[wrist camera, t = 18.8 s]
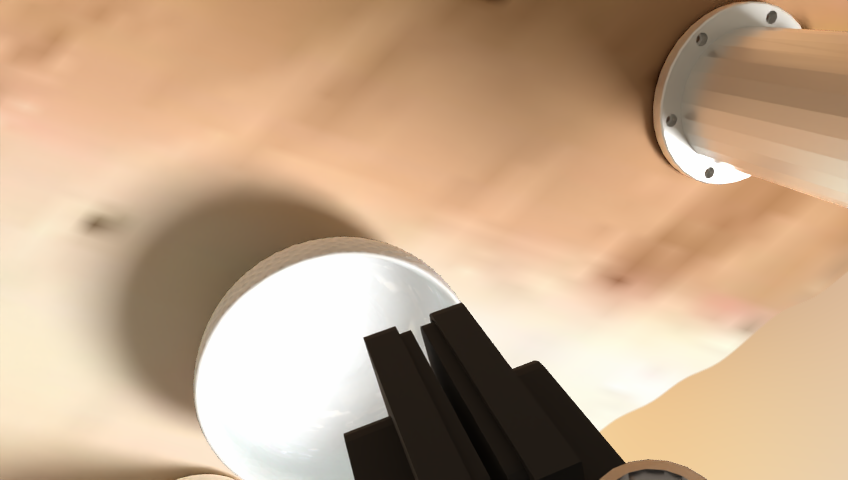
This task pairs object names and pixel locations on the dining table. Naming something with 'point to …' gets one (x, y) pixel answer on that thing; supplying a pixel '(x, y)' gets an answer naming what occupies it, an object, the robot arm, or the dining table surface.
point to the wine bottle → (206, 477)
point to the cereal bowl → (306, 354)
